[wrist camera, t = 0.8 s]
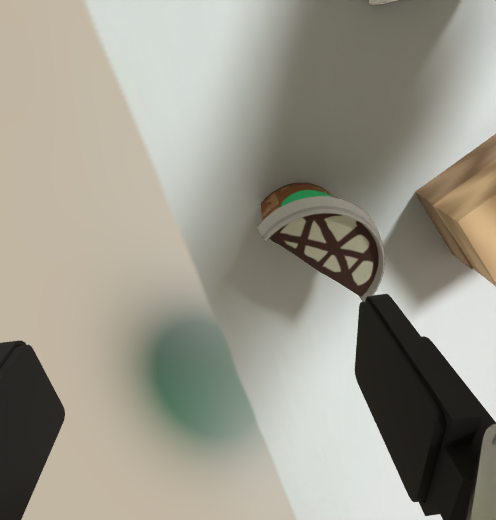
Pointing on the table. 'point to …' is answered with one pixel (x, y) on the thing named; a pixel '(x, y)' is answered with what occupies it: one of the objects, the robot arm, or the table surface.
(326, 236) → the food container
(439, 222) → the tan cardboard flat block
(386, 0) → the photo printer
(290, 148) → the table surface
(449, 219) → the oak slab
